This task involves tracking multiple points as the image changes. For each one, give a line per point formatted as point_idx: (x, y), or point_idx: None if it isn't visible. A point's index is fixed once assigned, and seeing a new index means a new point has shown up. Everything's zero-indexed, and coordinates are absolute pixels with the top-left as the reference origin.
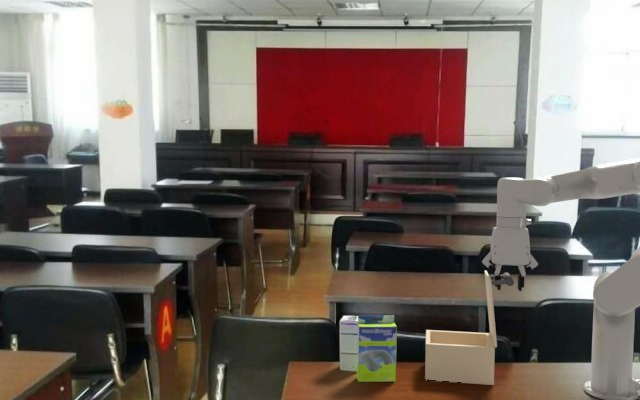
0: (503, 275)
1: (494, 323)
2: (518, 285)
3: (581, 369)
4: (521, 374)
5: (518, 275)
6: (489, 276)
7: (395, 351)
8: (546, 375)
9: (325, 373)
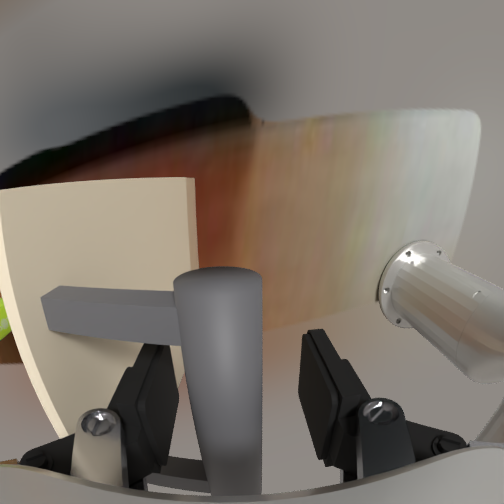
0: (182, 350)
1: (178, 383)
2: (306, 391)
3: (404, 154)
4: (270, 212)
5: (333, 415)
6: (58, 331)
7: (4, 336)
8: (327, 207)
9: None
